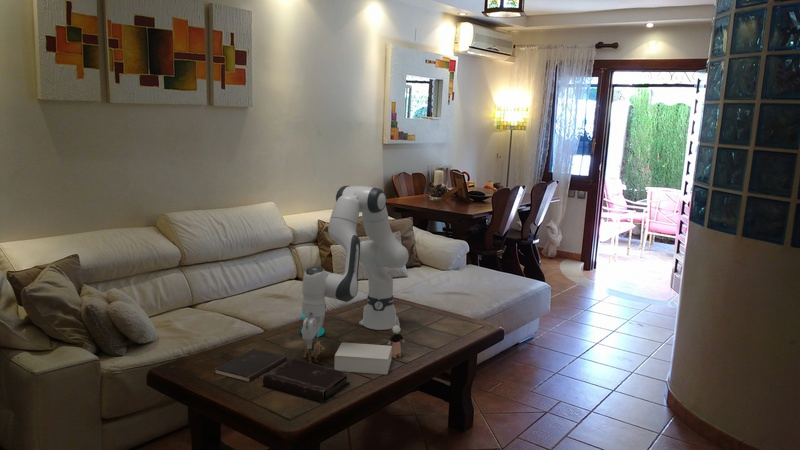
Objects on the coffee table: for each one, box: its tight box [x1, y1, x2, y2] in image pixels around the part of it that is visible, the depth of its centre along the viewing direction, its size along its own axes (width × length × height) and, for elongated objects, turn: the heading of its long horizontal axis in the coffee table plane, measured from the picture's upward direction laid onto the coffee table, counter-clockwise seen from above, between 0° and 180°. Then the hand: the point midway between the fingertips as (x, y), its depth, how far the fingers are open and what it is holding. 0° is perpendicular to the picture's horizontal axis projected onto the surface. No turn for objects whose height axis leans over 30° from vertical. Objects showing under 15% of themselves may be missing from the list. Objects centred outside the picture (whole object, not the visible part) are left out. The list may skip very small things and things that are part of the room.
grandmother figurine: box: [387, 325, 406, 358], centre depth 250 cm, size 8×4×13 cm, turn 134°
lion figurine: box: [302, 341, 325, 363], centre depth 243 cm, size 15×5×9 cm, turn 34°
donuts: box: [300, 314, 326, 338], centre depth 271 cm, size 10×10×10 cm
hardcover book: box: [213, 348, 288, 383], centre depth 234 cm, size 16×23×2 cm
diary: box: [262, 357, 351, 403], centre depth 220 cm, size 19×25×5 cm
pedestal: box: [333, 341, 393, 375], centre depth 239 cm, size 14×20×6 cm
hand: (312, 344), depth 241 cm, fingers open, 8 cm apart
